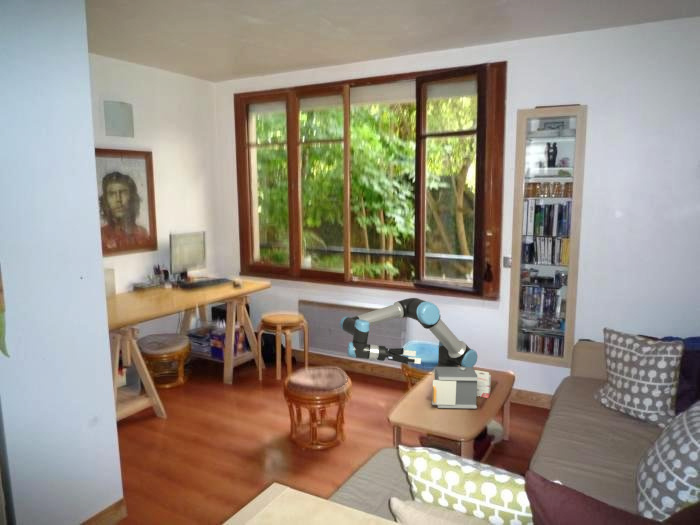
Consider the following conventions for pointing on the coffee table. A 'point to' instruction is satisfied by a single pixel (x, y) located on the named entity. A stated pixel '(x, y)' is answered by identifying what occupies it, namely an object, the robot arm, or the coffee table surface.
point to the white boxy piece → (444, 392)
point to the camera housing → (460, 385)
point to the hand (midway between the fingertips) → (418, 357)
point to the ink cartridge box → (483, 384)
